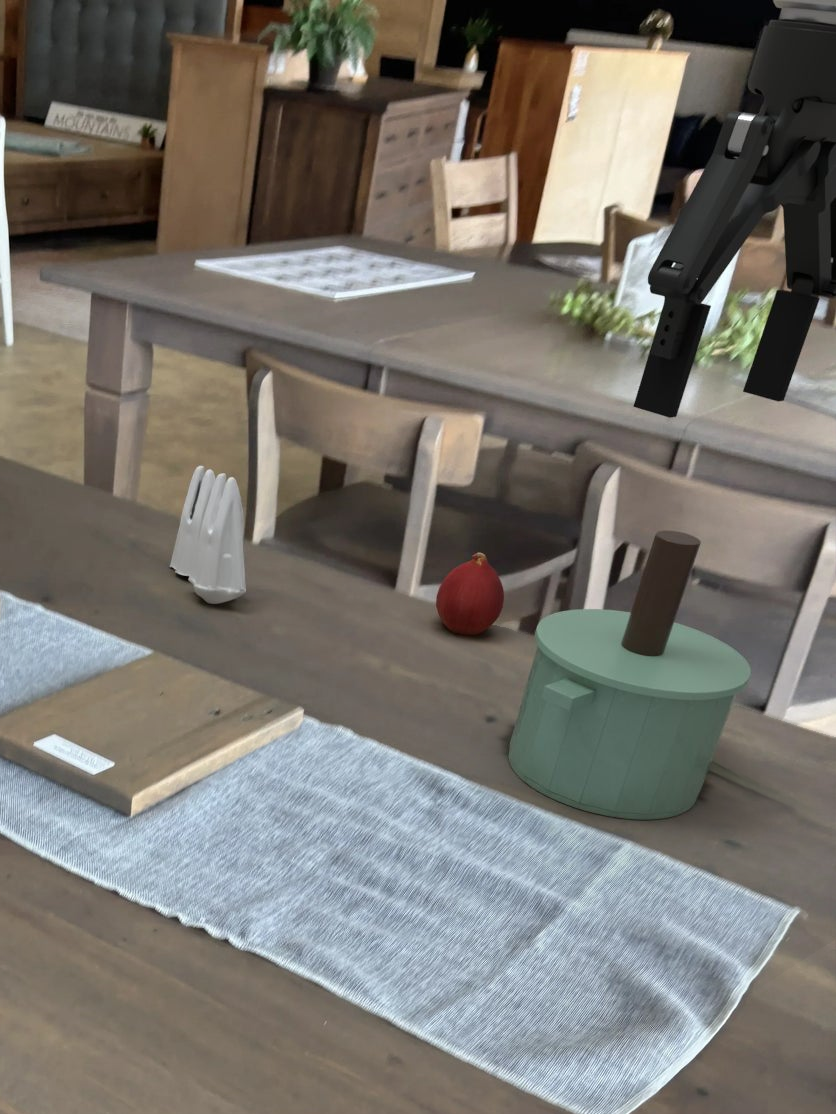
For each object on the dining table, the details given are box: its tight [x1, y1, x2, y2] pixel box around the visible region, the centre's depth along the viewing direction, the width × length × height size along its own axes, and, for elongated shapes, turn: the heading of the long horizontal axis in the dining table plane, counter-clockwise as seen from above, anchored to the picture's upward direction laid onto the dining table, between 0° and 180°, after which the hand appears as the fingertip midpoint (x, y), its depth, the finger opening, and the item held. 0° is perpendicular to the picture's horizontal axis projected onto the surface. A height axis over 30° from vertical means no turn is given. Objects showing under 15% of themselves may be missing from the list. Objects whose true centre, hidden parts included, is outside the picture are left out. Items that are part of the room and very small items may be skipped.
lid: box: [534, 530, 752, 700], centre depth 99 cm, size 15×15×9 cm
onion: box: [435, 552, 505, 636], centre depth 125 cm, size 6×6×8 cm
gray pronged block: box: [169, 465, 247, 605], centre depth 128 cm, size 12×4×11 cm, turn 12°
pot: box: [508, 644, 738, 821], centre depth 104 cm, size 14×19×10 cm
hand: (710, 404), depth 94 cm, fingers open, 13 cm apart
